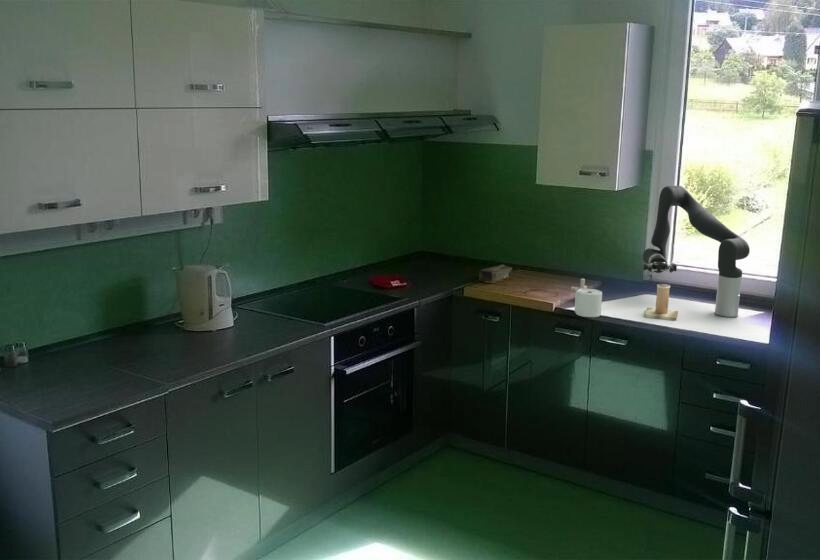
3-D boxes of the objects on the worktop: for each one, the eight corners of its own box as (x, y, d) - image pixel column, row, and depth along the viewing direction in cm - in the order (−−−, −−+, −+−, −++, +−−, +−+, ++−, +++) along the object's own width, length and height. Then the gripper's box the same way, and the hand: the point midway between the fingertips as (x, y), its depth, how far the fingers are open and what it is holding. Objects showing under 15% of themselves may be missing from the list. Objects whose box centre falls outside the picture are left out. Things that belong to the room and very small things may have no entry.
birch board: (677, 313, 352) (678, 310, 352) (676, 320, 342) (676, 317, 341) (646, 310, 357) (647, 307, 357) (644, 317, 346) (644, 314, 346)
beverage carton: (512, 278, 413) (513, 265, 412) (491, 285, 399) (491, 272, 398) (499, 276, 418) (500, 263, 417) (477, 282, 404) (478, 269, 403)
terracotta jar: (668, 311, 351) (670, 284, 348) (667, 314, 346) (669, 287, 343) (655, 310, 353) (657, 283, 350) (654, 313, 348) (656, 286, 345)
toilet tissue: (598, 318, 343) (599, 295, 341) (570, 315, 347) (571, 292, 345) (602, 312, 352) (604, 290, 350) (575, 309, 357) (576, 287, 355)
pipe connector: (567, 301, 370) (568, 280, 368) (574, 296, 379) (575, 275, 376) (589, 304, 365) (590, 282, 363) (595, 299, 374) (596, 278, 372)
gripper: (642, 254, 373) (644, 261, 358) (674, 255, 371) (678, 262, 355) (641, 270, 375) (643, 277, 359) (673, 271, 372) (677, 278, 357)
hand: (661, 270), depth 357 cm, fingers open, 8 cm apart
